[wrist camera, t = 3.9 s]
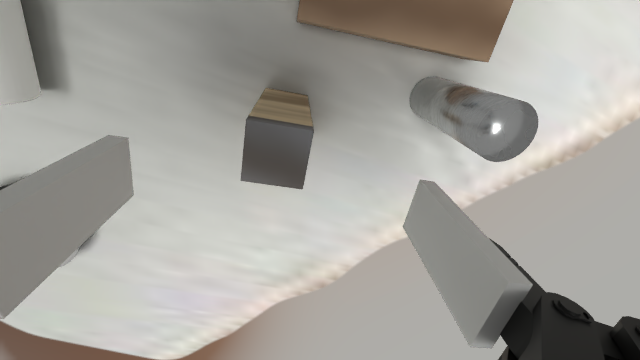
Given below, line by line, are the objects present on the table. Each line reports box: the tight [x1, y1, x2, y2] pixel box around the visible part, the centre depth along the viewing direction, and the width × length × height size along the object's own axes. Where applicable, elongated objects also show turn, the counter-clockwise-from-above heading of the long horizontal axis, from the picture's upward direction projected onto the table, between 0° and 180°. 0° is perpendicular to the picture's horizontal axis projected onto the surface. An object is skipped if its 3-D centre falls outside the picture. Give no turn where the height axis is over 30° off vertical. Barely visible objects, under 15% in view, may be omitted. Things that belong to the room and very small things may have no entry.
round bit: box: [410, 76, 538, 162], centre depth 24 cm, size 4×4×12 cm
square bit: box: [241, 88, 314, 189], centre depth 24 cm, size 4×4×12 cm
